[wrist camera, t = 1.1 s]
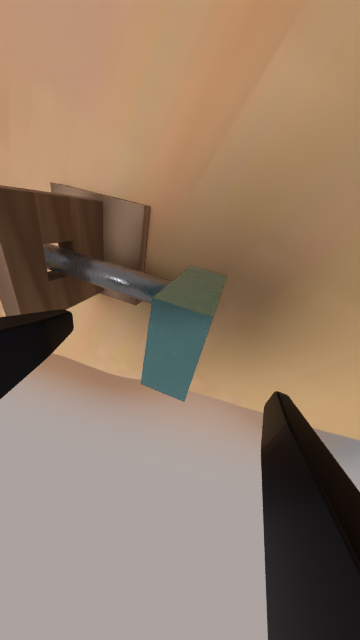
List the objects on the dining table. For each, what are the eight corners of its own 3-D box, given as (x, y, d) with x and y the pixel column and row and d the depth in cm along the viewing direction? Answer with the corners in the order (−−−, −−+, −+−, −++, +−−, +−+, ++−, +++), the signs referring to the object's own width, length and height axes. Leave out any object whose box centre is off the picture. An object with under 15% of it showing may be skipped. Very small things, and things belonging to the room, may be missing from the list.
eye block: (150, 206, 17) (51, 191, 8) (140, 301, 22) (72, 354, 14) (60, 184, 19) (-102, 152, 10) (70, 278, 24) (-31, 311, 15)
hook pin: (228, 271, 13) (213, 317, 7) (208, 330, 15) (184, 401, 9) (14, 211, 16) (-129, 205, 10) (28, 269, 18) (-79, 293, 12)
